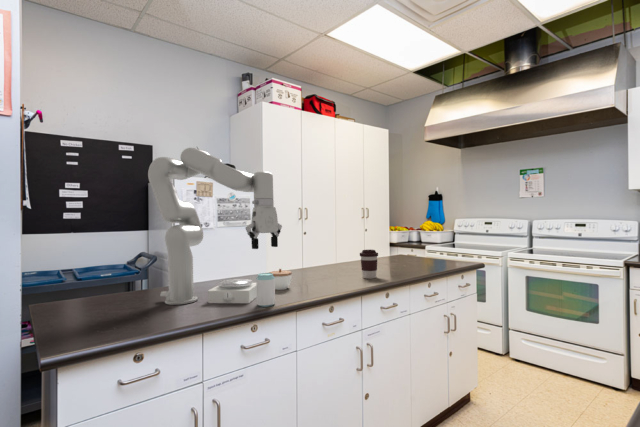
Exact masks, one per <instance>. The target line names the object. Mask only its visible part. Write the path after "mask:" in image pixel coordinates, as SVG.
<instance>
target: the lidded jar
mask: <svg viewBox="0 0 640 427" xmlns="http://www.w3.org/2000/svg"><path fill="white" fill-rule="evenodd" d="M268 273H272V274H273V276H274V278H275V291H278V290H280V291H283V290H287V289H288V287H290V284H291V282H292V274H293V272H292V271H291V270H282V268H279V269H278V270H273V271H269V272H268Z"/></svg>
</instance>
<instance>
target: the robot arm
mask: <svg viewBox="0 0 640 427" xmlns="http://www.w3.org/2000/svg"><path fill="white" fill-rule="evenodd" d="M180 153H181V154H180V159H176V158H173V157H172V158H171V157H168V156H160V157H157V158H155V159H154V160H152V162H151V163H150V165H149V167H148V172H147V177H148V182H149V185H150V186H151V189H152V191H153V194H154V197H155V200H156V203H157V206H158V210H159V211H160V216H161V218H162V219H163V221H164V222H165V223H169V224H176V225H173V226H170V227H169V228H168V229H167V230H166V233H165V236H164V239H165V240H164V242H165V244H166V245H165V246H166V250H167V266H168V267H167V269H168V290H167V291H161V292H160V296H159V297H160V298H164V297H165V300H164V304H165V305H170V306H171V305H172V306H175V305H176V306H177V305H178V306H179V305H187V304H191V303H195V302H196V301H198V296H197V295H195V294H194V290H195V288H194V256H193V253H192V250H191V247H194V246H195V247H196V246H199V245H200V244H201V243H202V242H203V241H204V240H203V239H204V230H203V228H202V223H201V221H200V218H199V215H198V212H197V210H196V208H195V206H194V205H193V204H192V203H190V202H189V201H186V200H185V201H184V200H181V199H180V198H179V195H178V192H177V189H176V187H175V185H174V184H173V183H172V181H171V180H170V179H172V180H178V181H183V180H187V179H189V178H193V177H194V176H198V175H200V174H201V175H204V176H206V177H208V178H209V179H211V180H213V181H215V182H216V183H218V184H220V185H223V186H224V187H226V188H228V189H231V190H233V191H236V192H237V191H238V192H243V193H244V192H245V193H253V200H252V201H251V203H252V205H253V207H252V212H251V222H250V224H248V225H247V226H245V231H246V234H247V236H249V238H250V239H251V249H252V250H258V249H259V238H258V236H259V235H260V234H270V235H271V237H270V245H271V247H273V248H277V247H278V244H279V243H278V237H279V236H280V233H281V231H282V228H283V226H282V224H280V223H279V221H278V213H277V208H276V207H275V206H274V204H275V203H274V202H275V201H274V178H273V177H274V176H273V174H272V172H270V171H257V172H254V173H249V172H246V171H241V170H238V169H236V168H234V167H231V166H230V165H227V164H225V163H223V160H222V159H221V158H219V157H216V156H214V155H211V154H210V153H209V152H207V151H205V150H202V149H198V148H196V147H187V148H184V149H183V150H182V152H180Z"/></svg>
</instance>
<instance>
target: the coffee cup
mask: <svg viewBox="0 0 640 427" xmlns="http://www.w3.org/2000/svg"><path fill="white" fill-rule="evenodd" d="M359 256H360V266H361V273H362V278H364V279H373V280H374V279H376V278H377V270H378V257H379V253H378V252H376V250H375V249H362V251H361V252H359Z"/></svg>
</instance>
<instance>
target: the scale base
mask: <svg viewBox="0 0 640 427" xmlns="http://www.w3.org/2000/svg"><path fill="white" fill-rule="evenodd" d="M255 299H257V289H256V282H252V284H251V285H248V286H244V287H234V288H225V287H219V286H218V285H216V286H214V287H212V288H210V289H208V290H207V304H250V303H251V302H253V301H254V300H255Z"/></svg>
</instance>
